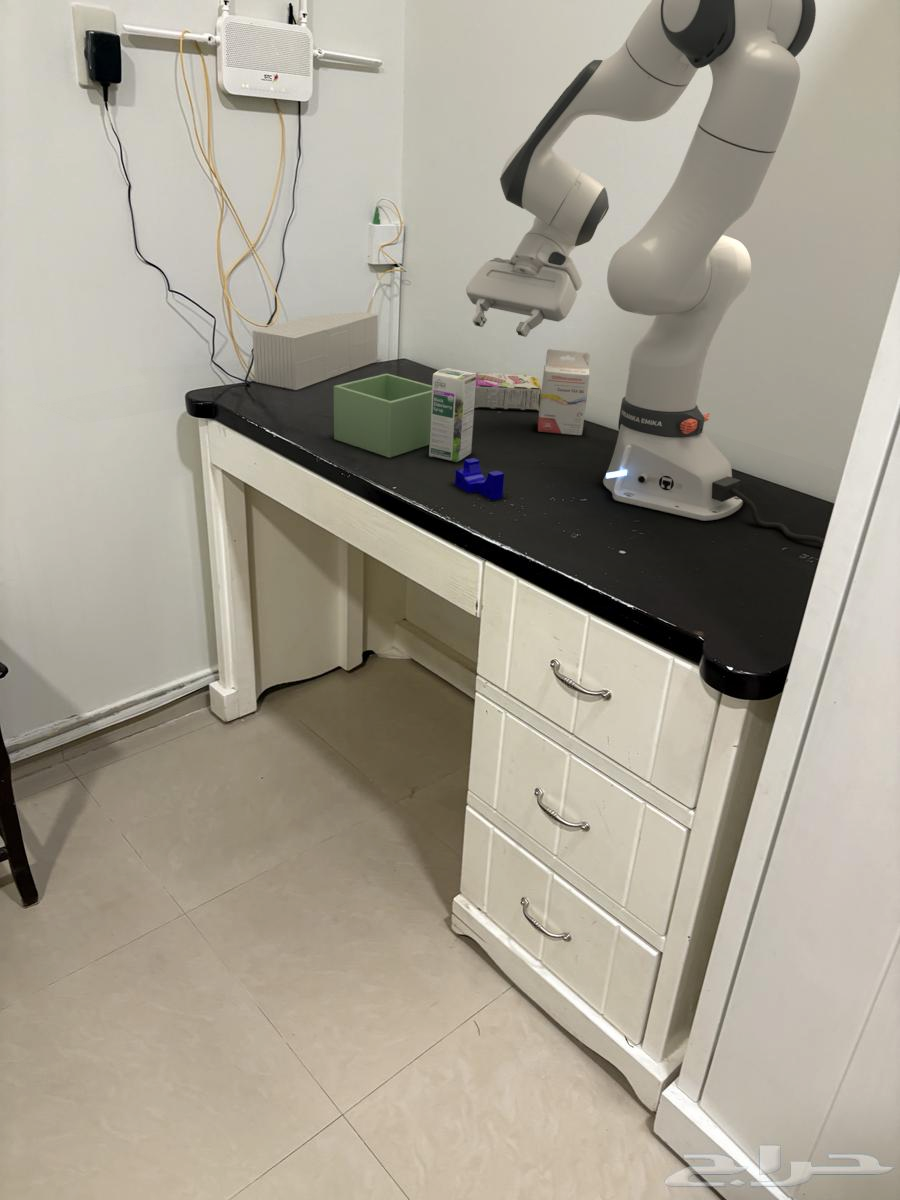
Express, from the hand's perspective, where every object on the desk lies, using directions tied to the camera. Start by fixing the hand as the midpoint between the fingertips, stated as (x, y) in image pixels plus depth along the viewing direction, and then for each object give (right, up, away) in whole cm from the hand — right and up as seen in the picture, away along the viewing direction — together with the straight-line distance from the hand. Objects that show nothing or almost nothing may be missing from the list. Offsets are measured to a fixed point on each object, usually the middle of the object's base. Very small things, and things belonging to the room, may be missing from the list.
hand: (498, 329), depth 161 cm
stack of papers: (-32, +8, +43) cm, 54 cm away
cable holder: (-4, -30, -13) cm, 33 cm away
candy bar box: (-7, -3, +31) cm, 32 cm away
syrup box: (-8, -22, +1) cm, 23 cm away
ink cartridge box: (+13, -15, +18) cm, 26 cm away
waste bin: (-20, -18, +7) cm, 28 cm away
